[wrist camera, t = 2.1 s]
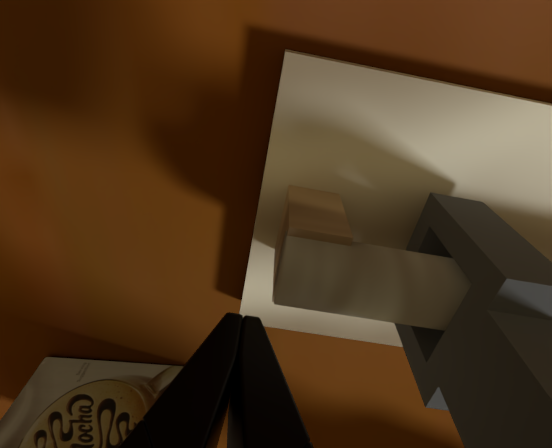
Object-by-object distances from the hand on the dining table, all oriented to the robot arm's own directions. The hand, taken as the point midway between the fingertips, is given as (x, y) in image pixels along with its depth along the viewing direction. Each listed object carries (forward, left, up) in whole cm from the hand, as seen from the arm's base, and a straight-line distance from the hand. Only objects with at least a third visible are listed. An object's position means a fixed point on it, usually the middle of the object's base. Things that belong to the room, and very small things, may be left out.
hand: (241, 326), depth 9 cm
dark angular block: (0, -7, -5) cm, 9 cm away
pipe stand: (0, -13, -8) cm, 15 cm away
